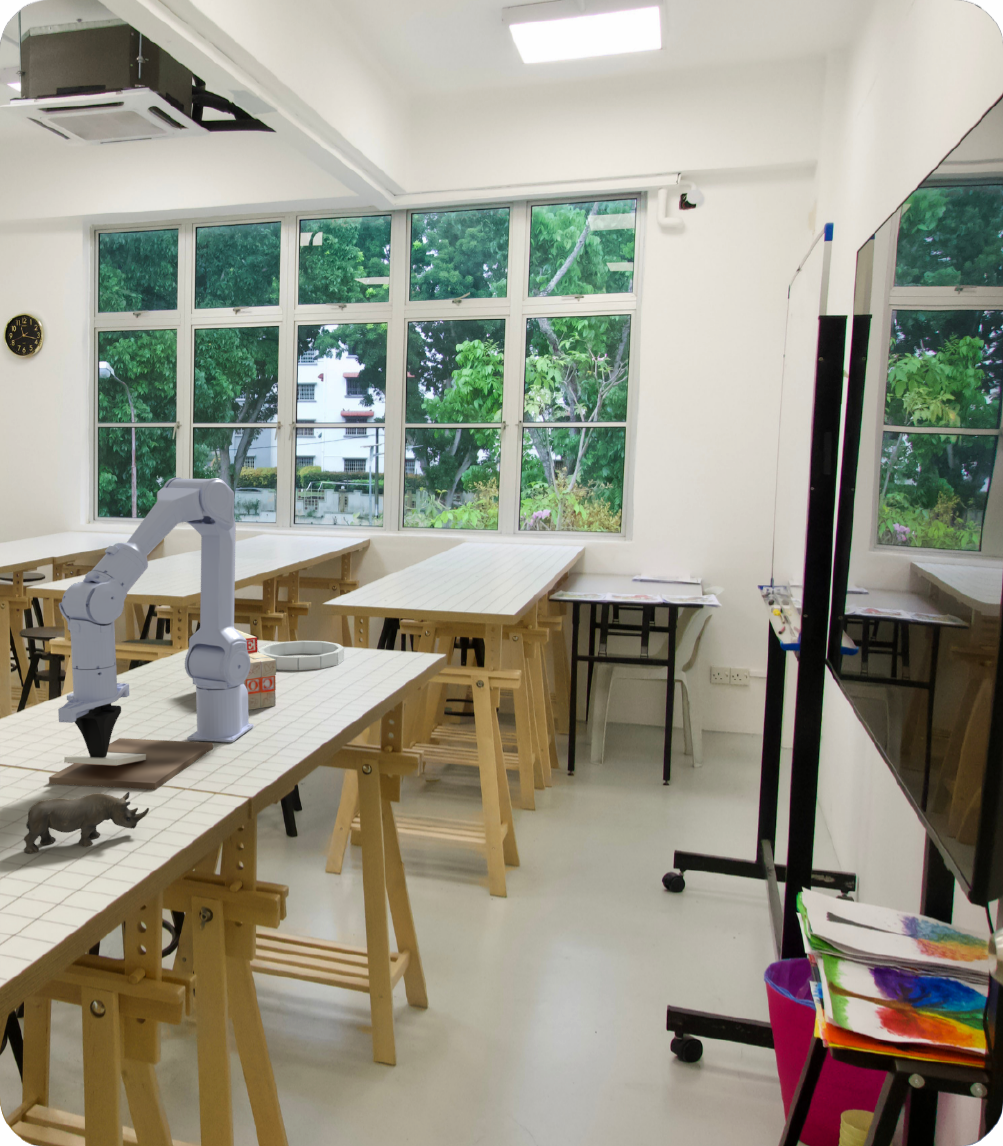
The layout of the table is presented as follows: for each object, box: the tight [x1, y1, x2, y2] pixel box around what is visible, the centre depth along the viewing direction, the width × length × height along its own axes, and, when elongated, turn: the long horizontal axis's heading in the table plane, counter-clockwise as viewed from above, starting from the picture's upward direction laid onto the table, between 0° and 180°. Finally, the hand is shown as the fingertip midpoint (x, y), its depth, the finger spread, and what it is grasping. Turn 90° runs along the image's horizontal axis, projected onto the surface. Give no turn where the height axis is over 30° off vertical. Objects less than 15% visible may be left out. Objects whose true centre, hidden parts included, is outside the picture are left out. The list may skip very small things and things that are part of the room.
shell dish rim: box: [258, 640, 345, 671], centre depth 204 cm, size 20×20×3 cm
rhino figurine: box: [23, 791, 150, 854], centre depth 103 cm, size 4×14×6 cm, turn 113°
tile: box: [63, 752, 146, 766], centre depth 126 cm, size 8×8×1 cm
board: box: [48, 737, 214, 791], centre depth 130 cm, size 18×16×2 cm
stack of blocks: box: [235, 628, 277, 711], centre depth 171 cm, size 21×6×12 cm, turn 38°
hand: (98, 757), depth 123 cm, fingers closed, pressing on tile
